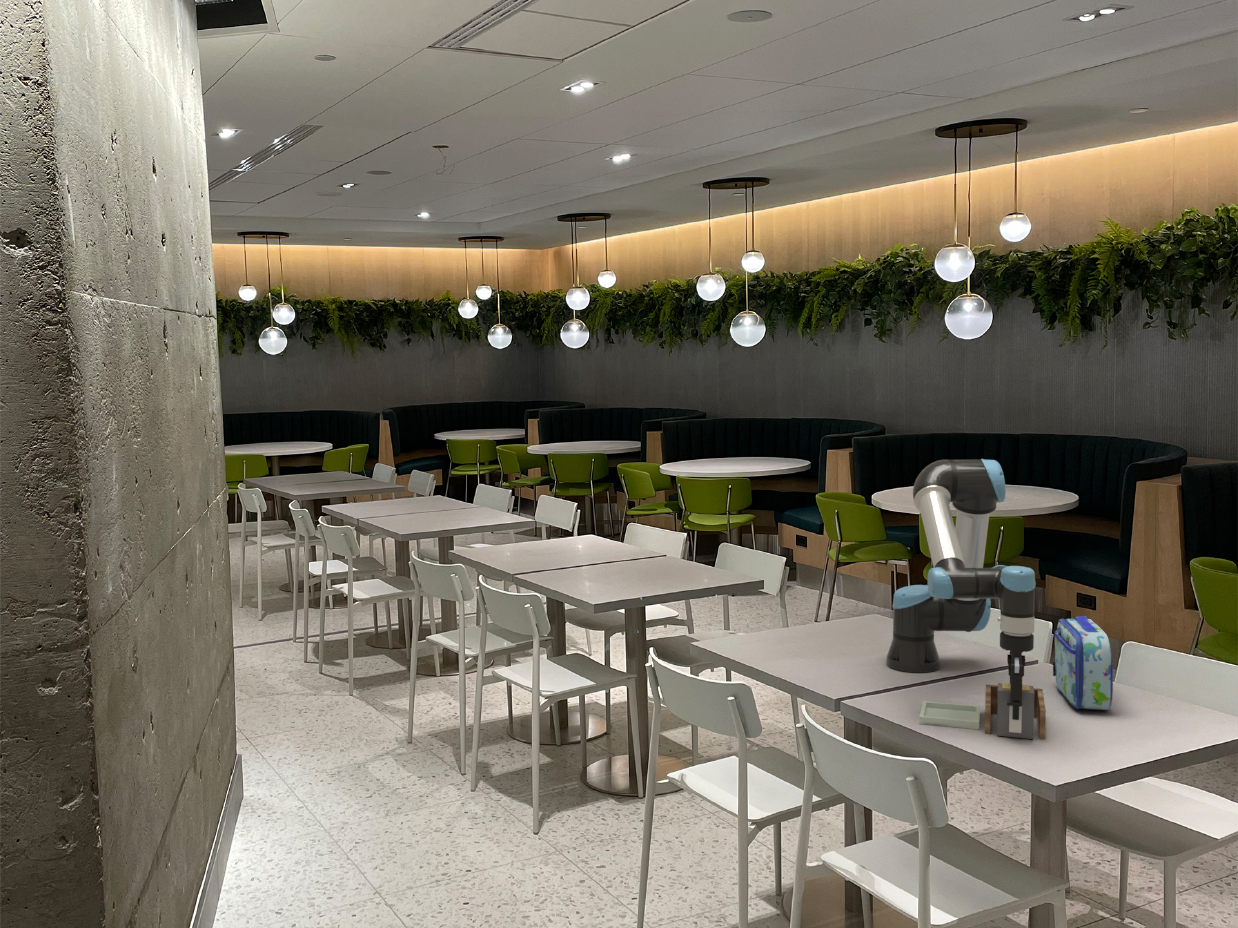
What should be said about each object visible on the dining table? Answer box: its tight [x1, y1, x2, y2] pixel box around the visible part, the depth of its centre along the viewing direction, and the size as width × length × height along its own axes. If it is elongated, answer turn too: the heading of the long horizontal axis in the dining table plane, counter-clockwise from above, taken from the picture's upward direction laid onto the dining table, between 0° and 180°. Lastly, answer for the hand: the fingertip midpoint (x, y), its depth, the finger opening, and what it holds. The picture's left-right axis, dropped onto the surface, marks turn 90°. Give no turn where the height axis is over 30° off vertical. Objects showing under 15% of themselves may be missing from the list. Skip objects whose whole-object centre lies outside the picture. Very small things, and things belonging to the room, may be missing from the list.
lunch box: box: [1052, 615, 1114, 711], centre depth 278 cm, size 26×11×21 cm, turn 168°
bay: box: [984, 684, 1047, 740], centre depth 260 cm, size 17×13×7 cm
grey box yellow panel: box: [996, 682, 1035, 740], centre depth 253 cm, size 6×8×11 cm
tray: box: [918, 700, 981, 730], centre depth 266 cm, size 13×14×2 cm
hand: (1014, 727), depth 254 cm, fingers closed on grey box yellow panel, 6 cm apart
